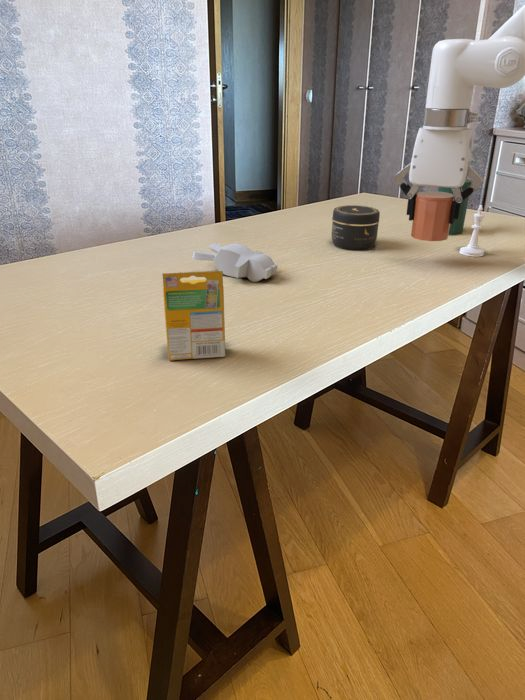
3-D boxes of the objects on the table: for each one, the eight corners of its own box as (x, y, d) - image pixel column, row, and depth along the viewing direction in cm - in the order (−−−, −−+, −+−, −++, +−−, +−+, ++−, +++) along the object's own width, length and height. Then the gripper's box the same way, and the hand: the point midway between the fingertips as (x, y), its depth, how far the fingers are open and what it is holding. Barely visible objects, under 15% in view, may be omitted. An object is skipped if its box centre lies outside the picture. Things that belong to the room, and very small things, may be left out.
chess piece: (487, 253, 112) (497, 205, 107) (478, 258, 108) (488, 208, 104) (465, 248, 115) (474, 201, 110) (455, 253, 111) (464, 205, 107)
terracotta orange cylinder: (449, 234, 105) (456, 192, 101) (445, 242, 99) (452, 199, 95) (414, 230, 107) (420, 190, 103) (408, 238, 102) (413, 196, 98)
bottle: (463, 229, 130) (476, 161, 122) (460, 236, 124) (473, 164, 116) (433, 226, 132) (444, 158, 125) (428, 233, 126) (440, 162, 119)
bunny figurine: (260, 266, 89) (188, 243, 94) (257, 294, 91) (186, 269, 97) (286, 252, 96) (217, 231, 102) (282, 278, 99) (215, 256, 104)
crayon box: (223, 347, 71) (221, 263, 65) (225, 357, 68) (224, 271, 63) (168, 350, 70) (161, 265, 64) (168, 361, 67) (161, 273, 62)
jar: (346, 253, 110) (349, 216, 107) (322, 241, 118) (324, 206, 115) (385, 248, 114) (389, 212, 111) (359, 237, 122) (362, 203, 119)
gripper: (499, 119, 93) (481, 221, 102) (400, 117, 100) (390, 213, 108) (497, 122, 87) (477, 230, 95) (392, 120, 94) (382, 220, 102)
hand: (431, 220), depth 102 cm, fingers closed on terracotta orange cylinder, 6 cm apart
